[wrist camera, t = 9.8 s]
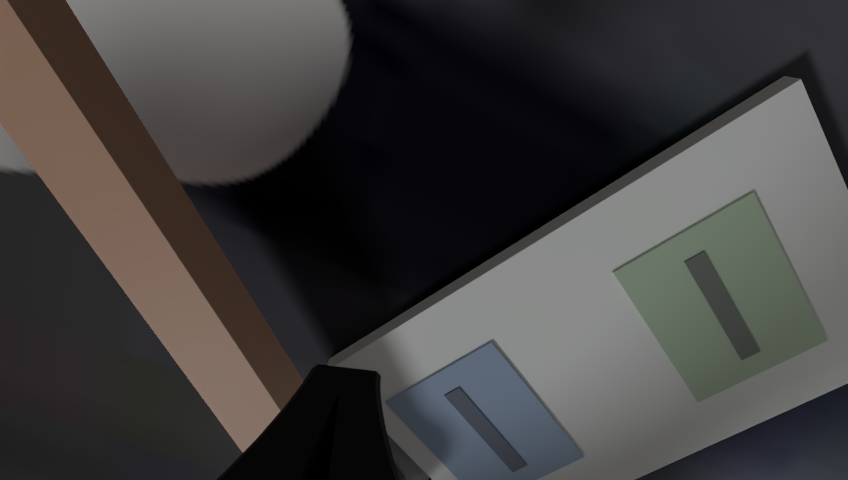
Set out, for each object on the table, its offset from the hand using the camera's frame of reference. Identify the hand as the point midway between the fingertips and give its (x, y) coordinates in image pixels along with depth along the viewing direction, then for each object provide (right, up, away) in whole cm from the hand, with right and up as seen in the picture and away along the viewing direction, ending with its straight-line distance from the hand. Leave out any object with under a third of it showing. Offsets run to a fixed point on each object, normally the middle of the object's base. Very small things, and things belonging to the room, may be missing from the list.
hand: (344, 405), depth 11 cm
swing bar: (-4, +1, +8) cm, 9 cm away
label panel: (+7, -2, +10) cm, 12 cm away
